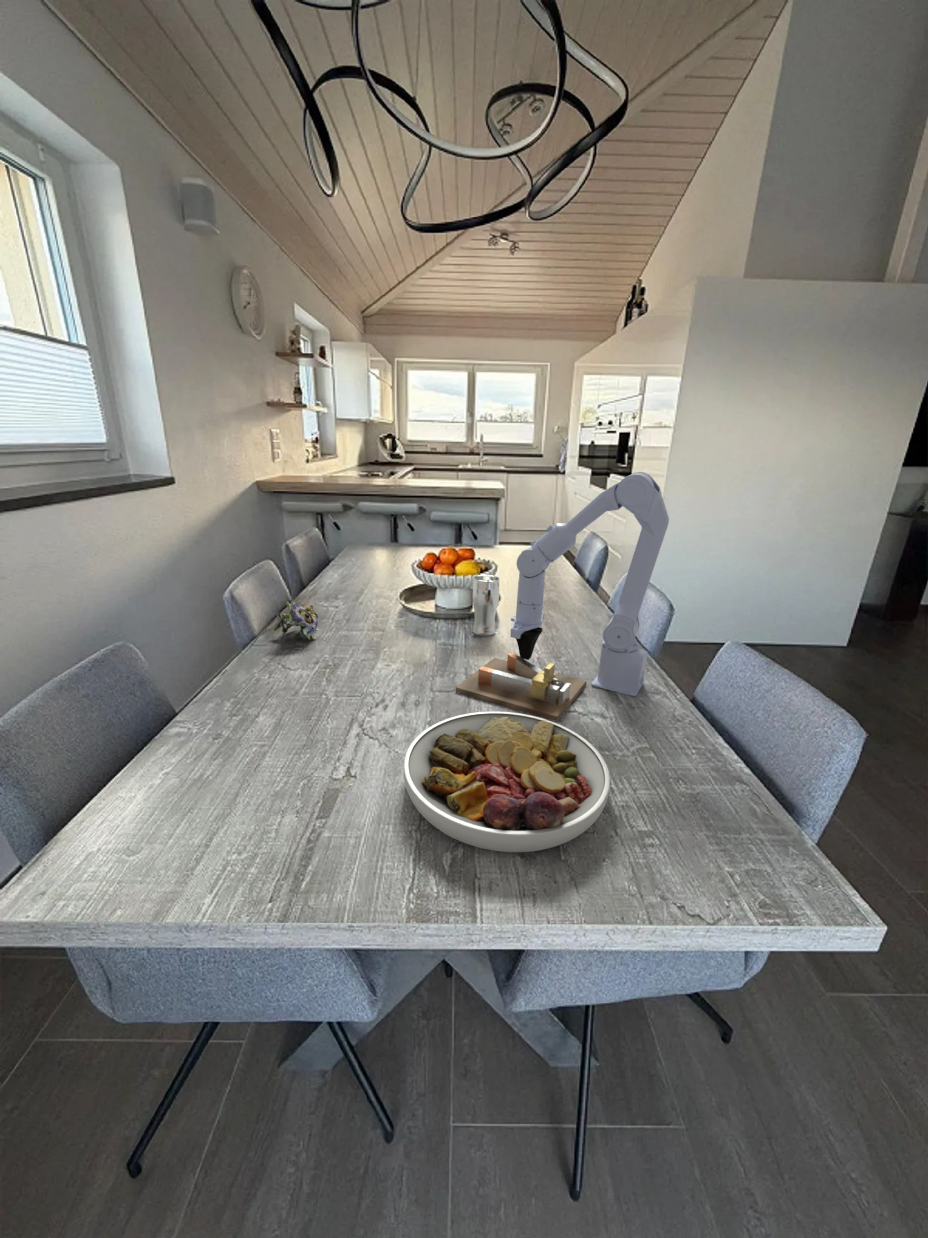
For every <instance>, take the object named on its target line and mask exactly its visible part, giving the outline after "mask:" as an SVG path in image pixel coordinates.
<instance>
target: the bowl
mask: <svg viewBox="0 0 928 1238" xmlns="http://www.w3.org/2000/svg"><path fill="white" fill-rule="evenodd" d="M610 776H611V775H610V771H609V769H608V765H607V764H606V761H605V759H604V757H603V756H602V755H601V753H600V751H598V750H597V749H596V748H595V747H594V745H592V744H591V743H590V742H589V741H588V740H586V739H585V738H584V737H582V735H580V734H578V733H577V732H576V731H573V730H571V729H570V728H569V727H567V726H564V725H561V724H559V723H557V722H556V721H553V720H550V719H547V718H544V717H540V716H536V715H532V714H525V713H520V712H519V713H518V712H510V711H479V712H477V711H476V712H469V713H463V714H459V715H456V716H452V717H448V718H445V719H443V720H440V721H438V722H436V723H435V724H433V725H430V726H429V727H427V728H426V729H424V730H423V731H421V733H419V734H418V735H417V736H416V737H415V738H414V739H413V741H411V743H410V744H409V746H408V748H407V750H406V753H405V755H404V759H403V779H404V785H405V788H406V791H407V794H408V796H409V798H410V800H411V802H412V804H413V805H414V807H415V808H416V810H417V811H418V812H419V814H421V816H422V817H423V818H425V820H426V822H429V823H430V824H431V826H434V828H436V829H437V830H439V831H440V832H442V833H444V834H445V835H446V836H448V837H450V838H452V839H455V840H457V841H459V842H461V843H463V844H466V845H470V846H472V847H476V848H478V849H485V850H489V851H496V852H503V853H527V852H528V853H530V852H537V851H538V852H539V851H542V850H547V849H551V848H554V847H558V846H560V845H563V844H566V843H568V842H570V841H572V840H574V839H575V838H577V837H579V836H581V835H582V834H583V833H584V832H586V831H587V830H589V828H591V827H592V825H593V824H594V823H595V822H596V821H597V820H598V819H599V817H600V816H601V814H602V812H603V810H604V809H605V807H606V804H607V801H608V798H609V794H610V787H611V777H610Z"/></svg>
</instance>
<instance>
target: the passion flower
mask: <svg viewBox="0 0 928 1238" xmlns="http://www.w3.org/2000/svg"><path fill="white" fill-rule="evenodd" d="M285 604H286V606H287V608H288V610H289V614H287V613H282V617H281V613H280V612H276V613H275V617H276V619H278V621H279V623H278V624H276V626H275V627H274V629H273V632H275V631H277V630H278V629H280V628H281V627H282V628H281V629H282V630H281V634H280V635H281V637H280V639H281V640H282V639H283V637H284V635H285V634H287V632H288V631H289V629H291V627H295V626H296V627H299V628H300V630H299V635H300V636H301V637H302V638H303V637H304V639H305V640H307V641H309V642H310V641H315V640H317V636H316V632H318V631H319V628H318V625H319V620H318V618H319V616H318V614H319V613H317V611H315V608H314V606H313V604H311V605H310V606H309V605H306V606H305V605H303V604H296V602H295V601H294V602H292V604H290V602H288V601H285ZM285 625H286V626H285Z"/></svg>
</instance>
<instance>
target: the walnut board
mask: <svg viewBox="0 0 928 1238" xmlns="http://www.w3.org/2000/svg"><path fill="white" fill-rule="evenodd" d="M483 667H487V668H491V669H494V670H498V671H502V672H505V673H509V674H513V675H517V676H521V675H519V674H518V673H516V672H514V671H513V670H511V669H510V668H508V667H507V660H505V659H500V658H498V657H497V658H496V657H493V658H492V659H491V660H490V661H488V662H487V663H486V664H484V665H483ZM542 670H543V671H544V669H542ZM554 673H555V674H556V676H555V678H556V679H557V680H561V681H563V682H564V685H565V684H566V683H571V687H570V695H569V699H568V700H567V701H566V702H565V704H564V705H563V706H558V702H559V699H558V702H557V703H556V704H551V703H547V702H544V701H540V700H537V699H533V698H530V697H526V696H522V695H519V694H515V693H512V692H508V691H505V690H501V689H497V688H494V687H490V686H487V685H483V684H479V683H478V675H479V669H477V671H475V672H473V673H472V674H471V675H470V676H468V677H467V678H466V679H464V680H463V681H462V682H460V683H459V684H458V685H456V686H455V693H459V694H463V695H466V696H469V697H473V698H476V699H480V700H483V701H486V702H490V703H492V704H493V703H494V704H496V705H499V706H504V707H507V708H510V709H513V710H517V711H520V712H524V713H527V714H529V715H532V716H536V717H539V718H543V719H546V720H549V721H553V722H558V721H559V720H560V719H561V718H562V715H563V714H564V713H565V712H566V711H567V710H568V708H569V707H570V706H571V705H572V703H573V702H574V701H575V700H576V698H577V697H578V696H579V694H581V692H582V691H583V690H584V688H585V687H587V680H585V679H581V678H577V677H572V676H568V675H566V674H565V675H564V674H560V673H557V672H554ZM521 677H522V676H521ZM564 685H563V686H564Z"/></svg>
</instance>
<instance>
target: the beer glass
mask: <svg viewBox="0 0 928 1238" xmlns="http://www.w3.org/2000/svg"><path fill="white" fill-rule="evenodd" d="M472 584H473V586H472V606H473V610H474V623H473V628H472V632H473V634H475V635H476V636H480V637H482V636H483V637H489V636H494V635H495V634H496V626H495V625H496V624H495V621H496V613H497V609H498V606H499V601H500V578H499V577H498V576H496V575H491V574H480V575H475V576H474V577H473V583H472Z"/></svg>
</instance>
